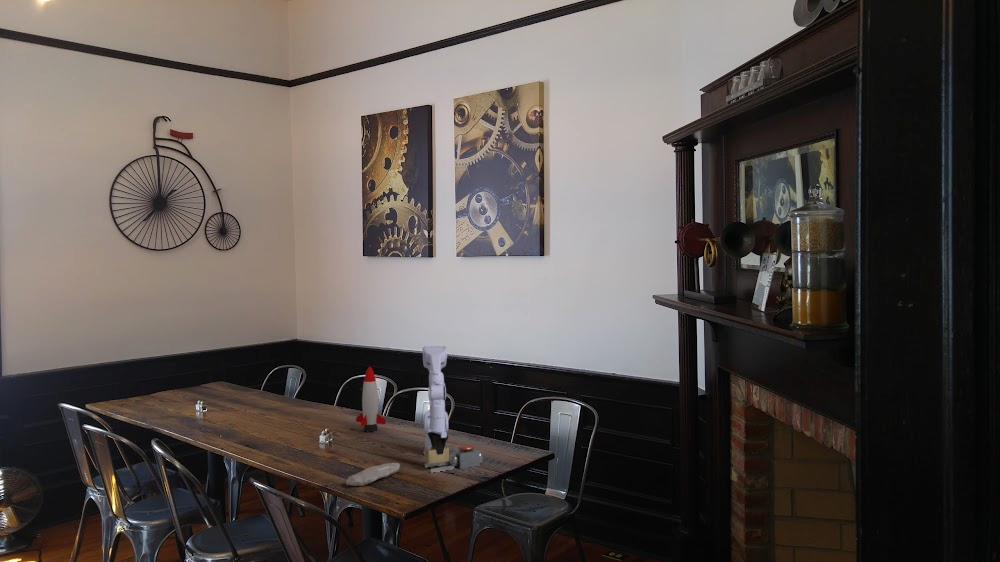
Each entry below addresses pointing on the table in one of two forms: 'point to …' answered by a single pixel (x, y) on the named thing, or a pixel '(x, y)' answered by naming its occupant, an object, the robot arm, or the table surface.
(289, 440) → the table surface
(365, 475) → the stone tool
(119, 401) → the table surface
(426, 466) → the valve
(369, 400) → the toy rocket
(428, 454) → the gold flanged block
